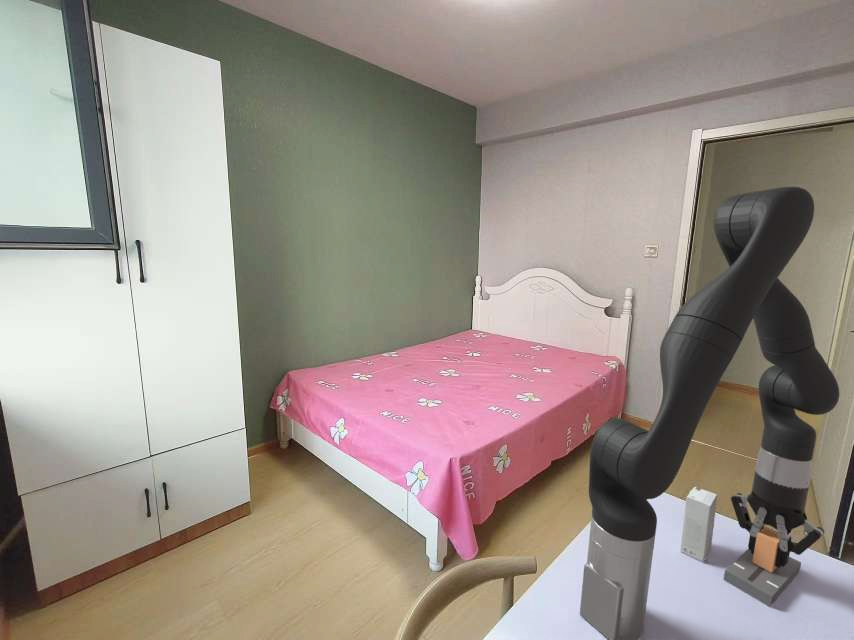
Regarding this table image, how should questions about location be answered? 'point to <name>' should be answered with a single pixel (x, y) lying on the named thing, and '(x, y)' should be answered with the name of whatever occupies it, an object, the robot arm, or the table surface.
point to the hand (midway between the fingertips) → (766, 558)
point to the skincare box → (698, 523)
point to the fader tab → (766, 549)
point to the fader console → (761, 578)
